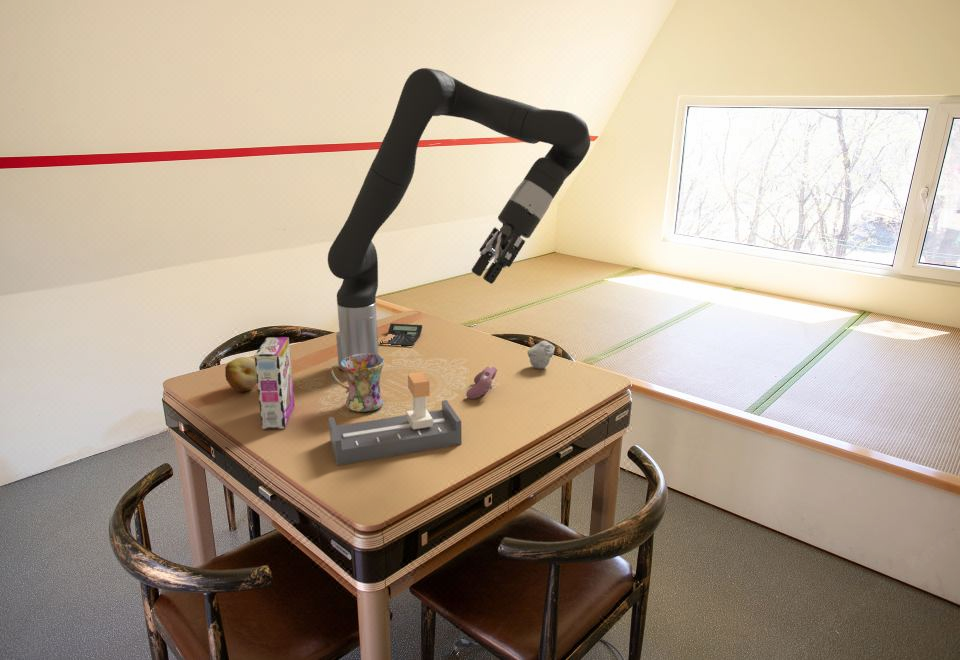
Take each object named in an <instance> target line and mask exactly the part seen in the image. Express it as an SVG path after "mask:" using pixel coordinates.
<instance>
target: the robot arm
mask: <svg viewBox="0 0 960 660" xmlns="http://www.w3.org/2000/svg"><path fill="white" fill-rule="evenodd" d="M396 105H397V106H396V108H395V111H394V114H393V117H392V118H391V122H390V125H389V127H388V129H387V131H386V133H385V136H384V137H383V139H382V140H381V141H382V142H381V143H380V146H379V149H378V151H377V153H376V155H375V157H374V159H373V161H372V163H371V165H370V167H369V169H368V172H367V174H366V176H365V178H364V181H363V182H362V185H361V187H360V190H359V192H358V194H357V195H356V198H355V201H354V203H353V206H352V208H351V210H350V212H349V214H348V217H347V219H346V220H345V223H344V225H343V226H342V228H341V229H340V231H339V233H338V234H337V236H336V238H335V239H334V240H333V242H332V244H331V246H330V248H329V250H328V254H327V265H328V268H329V270H330V272H331V273H332V275H334V277H336V278H338V279H342V283H341V285H340V287H339V289H338V290H337V292H336V303H337V317H338V329H339V330H338V332H336V334H335V337H336V348H337V361H338V362H337V363H338V364H337V365H341V361H342V360H343V359H344V358H346V357H349V356H352V355H356V354H376V355H379V339H378V337H379V336H378V319H377V301H376V299H377V298H376V297H377V296H376V295H377V291H378V288H379V261H378V259H379V257H378V252H377V250H376V249H377V248H376V247H375V245H374V244H375V243H373V239H374V236H375V235H376V234H377V232H378V231H379V230H380V228H381V227H382V226H383V224H384V223H385V222H386V221H387V220H388V219H389V218H390V216H391V215H392V214H393V213H394V212H395V210H397V208H398V206H399V205H400V203H401V201H402V200H403V199H404V196H405V194H406V192H407V190H408V188H409V186H410V184H411V182H412V179H413V177H414V173H415V169H416V167H415V166H416V159H417V150H418V147H419V146H418V145H419V142H420V140H421V137H422V135H423V133H424V132H425V130H426V128H427V126H428V124H429V122H430V121H431V120H432V117H439V116H446V117H455V118H461V119H465V120H469V121H473V122H475V123H476V124H480V125H481V126H483V127H486V128H488V129H490V130H492V131H494V132H497V133H498V134H500V135H503V136H506V137H509V138H511V139H515V140H518V141H521V142H524V143H527V144H532V145H534V144H538V143H540V142H542V143H545V144H548V145H551V148H550V149H549V150H548V152H547V153H546V155H544V157H543V156H541V157H539V158H538V159H537V160H535V161H534V162H533V164H532V165H531V167H530V169H529V170H528V172H527V173H526V175H525V176H524V178H523V180H522V181H520V184H518V186H517V187H516V188H515V190H514V191H513V193H512V194H511V196H510V197H509V198H508V200H507V202H506V204H505V205H504V206H503V208H502V209H501V211H500V213H499V215H497V216H498V217H497V220H498V222H500V223H502V225H501V227H500V228H497V227H495V226H494V227H493V228H492V230H491V232H490V233H489V235H488V236H487V238H486V239H485V240H484V242H483V243H482V244H481V247H479V250H478V251H479V252H480V253H479V255H480V256H479V257H478V259H477V260H476V262H475V264H474V265H473V266H472V268H471V272H472V273H473V274H474V275H476V276H478V277H480V276H482V275H483V273H484V272H485V273H484V275H483V276H482V277H483V280H485V281H486V282H487V283H489V284H491V285H492V284H494V283H495V281H496V280H497V278H498V276H499V275H500V274H501V272H502V270H503V269H505V268H507V267H508V268H510V267H511V266H512V265H513V262H514V261H515V259H516V258H517V256H518V255H519V253H520V252H521V250H522V248H523V246H524V245H525V244H526V240H525V239H529V238H531V236H532V234H533V233H534V231H535V229H536V228H537V227H538V225H539V224H540V223H541V220H542V219H543V217H544V216H545V215H546V213H547V212H548V209H549V208H550V206H551V204H552V202H553V199H554V198H555V197H556V195H557V194H558V192H559V190H560V189H561V187H562V186H563V184H564V182H565V181H566V180H567V178H568V177H569V176H570V175H571V174H572V173H573V172H574V171H575V170H576V169H577V167H579V165H580V164H581V163H582V162H583V160H584V159H585V157H586V156H587V154H588V152H589V150H590V146H591V137H590V132H589V128H588V124H587V123H586V121H585V120H584V119H583V118H582V117H581V116H579V115H577V114H575V113H572V112H569V111H565V110H558V109H557V110H556V109H547V108H545V109H542V108H539V107H537V106H533V105H530V104H527V103H524V102H522V101H518V100H514V99H510V98H507V97H503V96H499V95H496V94H492V93H488V92H484V91H482V90H479V89H477V88H475V87H472V86H471V85H468V84H466V83H464V82H462V81H461V80H458V79H456V78H455V77H453V76H451V75H450V74H448V73H447V72H445V71H443V70H439V69H433V68H428V67H421V68H418V69H416V70H415V71H413V72H412V73H410V74H409V75H408V78H407V79H406V81H405V83H404V84H403V87H402V90H401V93H400V96H399V99H398V101H397V104H396ZM522 237H523V238H525V239H523V238H522ZM493 259H494V260H493ZM492 260H493V261H492ZM491 261H492V262H491ZM490 262H491V264H490ZM489 264H490V265H489ZM488 265H489V267H488ZM487 267H488V268H487ZM485 270H486V271H485ZM379 356H380V355H379ZM340 369H341V368H339V367H338V370H340ZM341 371H344V370H343V369H341Z"/></svg>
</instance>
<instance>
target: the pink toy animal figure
mask: <svg viewBox="0 0 960 660" xmlns="http://www.w3.org/2000/svg"><path fill="white" fill-rule="evenodd" d="M497 372H498V369H497V368H496V367H493V366H490V365H488V366H487V367H485V368H483V369H482V370H481V372H479V373H478V374H476V375H475V376H474V378H473V382H474V384H475V385H473V386H472V387H470V388H469V389H468V390H467V391H466V395H465V396H466V398H467V399H470V400H473V399H478V398H479V397H481V396H485V394H486V393H487V391H488V390H490V391H491V390H492V389H493V388H494V387H493V386H494V385H493V384H492V382H493V379H495V377H496V376H497Z"/></svg>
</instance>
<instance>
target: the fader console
mask: <svg viewBox="0 0 960 660" xmlns="http://www.w3.org/2000/svg"><path fill="white" fill-rule="evenodd" d="M428 412H429V414H430V415H431V417H432V418H433V426H432V427H426V428H419V429H412V427H411V425H410V423H409V421H408V419H407V414H405V415H404V414H403V415H399V416H392V417H384V418H378V419H371V420H366V421H359V422H353V423H352V422H351V423H347V424H340V425H337V423H336V419H335V417H334V416H331V417H328V426H329V427H328V428H329V440H330V443H331V447H332V450H333V455H334V458H335V461H336V465H337V466H342V465H347V464H353V463H361V462H363V461H370V460H377V459H383V458H388V457H393V456H400V455H405V454H411V453H417V452H423V451H428V450H435V449H439V448H446V447H451V446H457V444H459V445H462V440H463V439H462V420H461V419H460V417H459V415H457V413H456V411H455V410H454V408H453V407H452V406H451V404H450V403H449V401H448V400H445V399H444V400H441V409H437V410H431V411H429V410H428Z"/></svg>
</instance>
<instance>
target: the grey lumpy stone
mask: <svg viewBox="0 0 960 660" xmlns="http://www.w3.org/2000/svg"><path fill="white" fill-rule="evenodd" d="M555 348H556V347H555V346H554V345H553V344H552V343H550V342H549V341H547V340H542V341H539V342H538V343H536V344H535V345H533V346H532V347H531V348H529V350H527V356H528V358H529V363H530V365H531V366H532V367H533V368H535V369H537V370H538V369H539V370H542V369H545V368H546V367H548V365H549V363H550V360H551V358H553V356H554V353H555V351H556V350H555Z"/></svg>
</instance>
